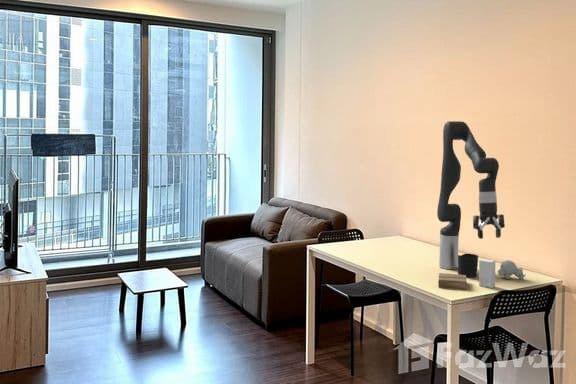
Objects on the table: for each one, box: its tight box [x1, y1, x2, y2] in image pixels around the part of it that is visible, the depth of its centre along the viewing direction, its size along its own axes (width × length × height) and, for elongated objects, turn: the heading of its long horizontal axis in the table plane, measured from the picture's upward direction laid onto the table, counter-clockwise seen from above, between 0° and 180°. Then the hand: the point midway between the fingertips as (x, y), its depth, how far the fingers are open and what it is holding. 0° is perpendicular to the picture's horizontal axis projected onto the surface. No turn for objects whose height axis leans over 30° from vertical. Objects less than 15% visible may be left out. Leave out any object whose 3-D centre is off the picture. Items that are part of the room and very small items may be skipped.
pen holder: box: [457, 253, 479, 279], centre depth 259 cm, size 9×9×10 cm
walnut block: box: [437, 272, 467, 291], centre depth 244 cm, size 12×12×4 cm
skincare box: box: [478, 258, 496, 289], centre depth 240 cm, size 6×4×12 cm
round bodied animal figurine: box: [497, 259, 527, 280], centre depth 253 cm, size 7×12×8 cm, turn 69°
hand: (489, 238), depth 238 cm, fingers open, 8 cm apart
